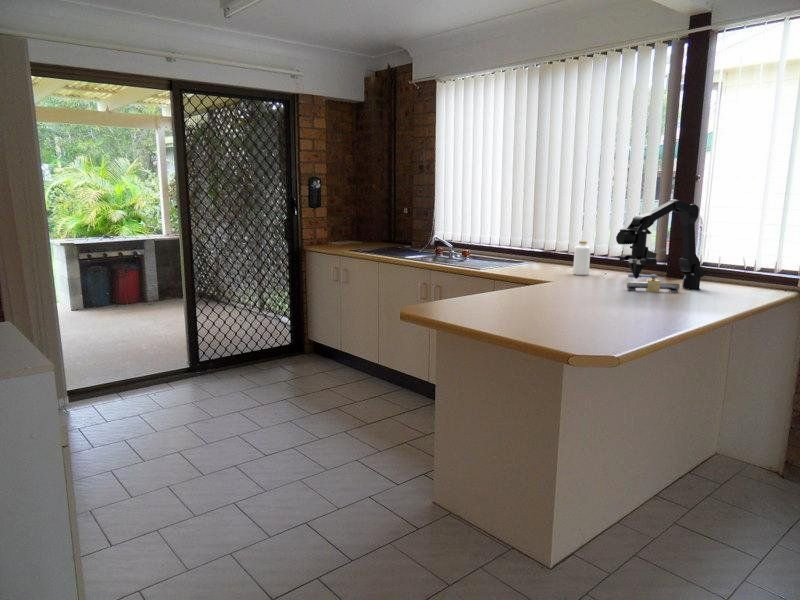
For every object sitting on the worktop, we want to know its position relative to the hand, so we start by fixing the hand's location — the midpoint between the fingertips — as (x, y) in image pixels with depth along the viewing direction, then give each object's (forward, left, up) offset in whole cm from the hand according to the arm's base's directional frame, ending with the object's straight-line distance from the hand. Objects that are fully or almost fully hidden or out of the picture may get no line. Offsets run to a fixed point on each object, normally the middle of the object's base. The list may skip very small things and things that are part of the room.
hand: (636, 278), depth 257 cm
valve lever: (-3, -3, 0) cm, 4 cm away
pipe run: (-8, -4, -6) cm, 11 cm away
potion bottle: (+21, -48, -6) cm, 52 cm away
